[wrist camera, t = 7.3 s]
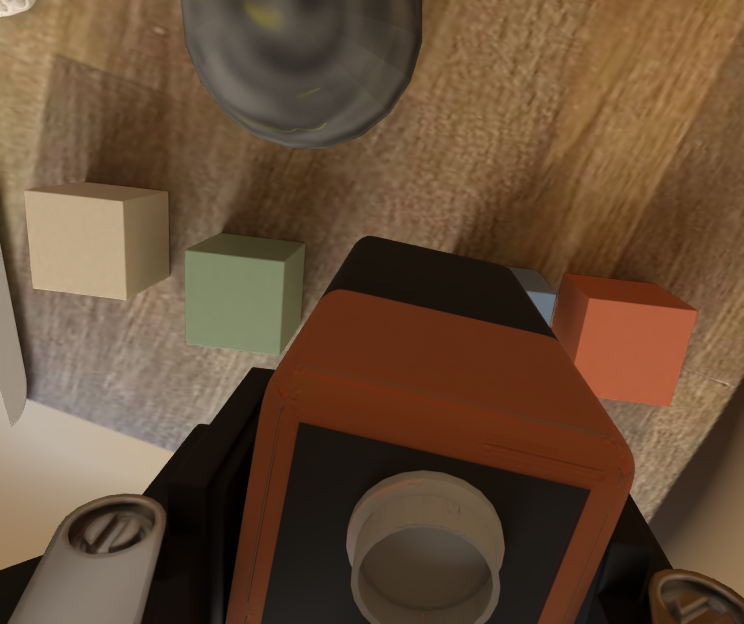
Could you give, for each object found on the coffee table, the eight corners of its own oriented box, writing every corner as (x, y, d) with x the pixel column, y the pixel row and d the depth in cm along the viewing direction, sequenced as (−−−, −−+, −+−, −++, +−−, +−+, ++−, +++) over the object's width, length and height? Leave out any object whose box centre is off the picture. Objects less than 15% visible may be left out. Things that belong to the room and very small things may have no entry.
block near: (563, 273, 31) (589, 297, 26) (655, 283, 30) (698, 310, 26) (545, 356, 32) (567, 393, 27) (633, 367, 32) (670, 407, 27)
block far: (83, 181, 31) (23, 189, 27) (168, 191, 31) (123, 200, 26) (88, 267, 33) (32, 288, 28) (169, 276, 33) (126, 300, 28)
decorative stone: (318, -119, 26) (257, -266, 17) (465, 40, 28) (487, -12, 18) (191, 51, 29) (77, 8, 19) (331, 187, 30) (289, 209, 21)
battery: (312, 448, 17) (164, 864, 7) (356, 228, 14) (231, 402, 5) (453, 481, 17) (495, 948, 7) (519, 265, 14) (707, 515, 5)
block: (220, 232, 32) (184, 249, 27) (306, 242, 31) (284, 261, 27) (218, 314, 33) (184, 344, 28) (300, 325, 33) (280, 356, 28)
